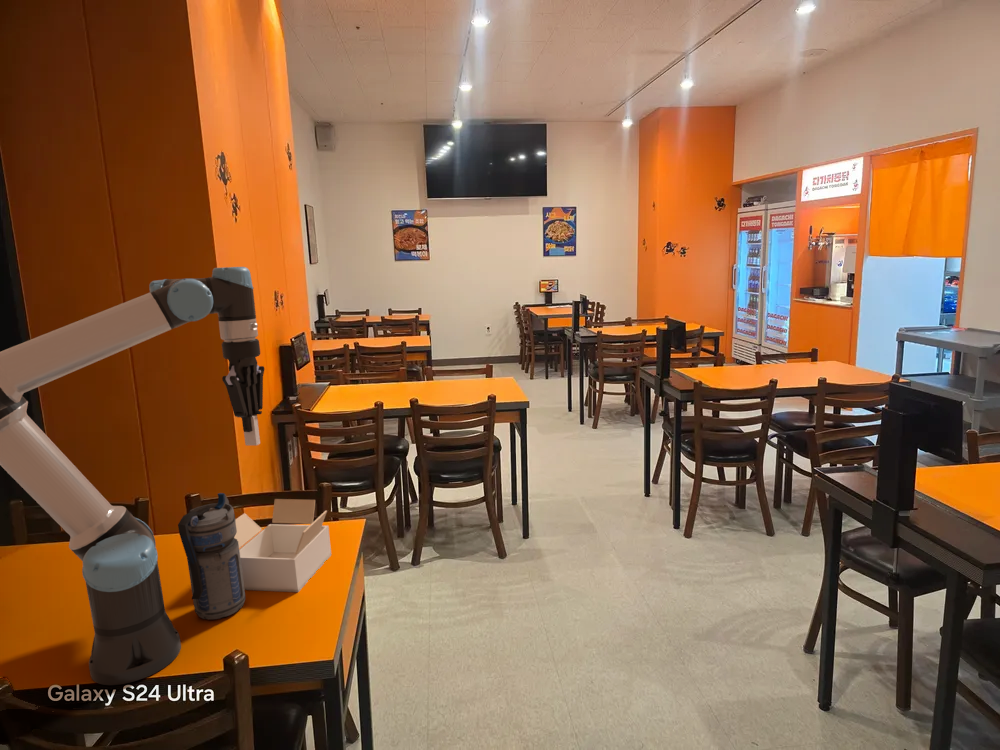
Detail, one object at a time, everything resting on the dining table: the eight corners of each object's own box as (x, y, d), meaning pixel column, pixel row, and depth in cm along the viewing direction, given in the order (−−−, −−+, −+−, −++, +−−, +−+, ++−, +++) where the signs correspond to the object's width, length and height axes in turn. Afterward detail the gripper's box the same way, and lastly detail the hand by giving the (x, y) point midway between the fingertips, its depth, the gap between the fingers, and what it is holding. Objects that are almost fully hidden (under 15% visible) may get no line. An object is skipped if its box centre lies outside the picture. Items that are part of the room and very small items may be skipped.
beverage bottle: (176, 626, 129) (158, 513, 125) (220, 593, 142) (206, 490, 137) (216, 632, 127) (200, 517, 122) (258, 597, 139) (244, 492, 135)
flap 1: (314, 499, 158) (315, 499, 159) (274, 499, 160) (275, 499, 160) (312, 523, 157) (313, 523, 157) (272, 522, 159) (272, 522, 159)
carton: (298, 592, 141) (292, 539, 138) (217, 588, 144) (210, 536, 142) (331, 555, 158) (326, 507, 156) (259, 552, 162) (253, 505, 159)
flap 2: (294, 553, 141) (296, 554, 141) (302, 531, 139) (304, 532, 139) (318, 530, 152) (319, 531, 152) (325, 510, 151) (327, 511, 151)
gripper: (239, 343, 126) (252, 453, 131) (271, 335, 139) (283, 436, 143) (205, 343, 128) (220, 453, 132) (241, 335, 140) (253, 436, 145)
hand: (252, 444), depth 138 cm, fingers closed
